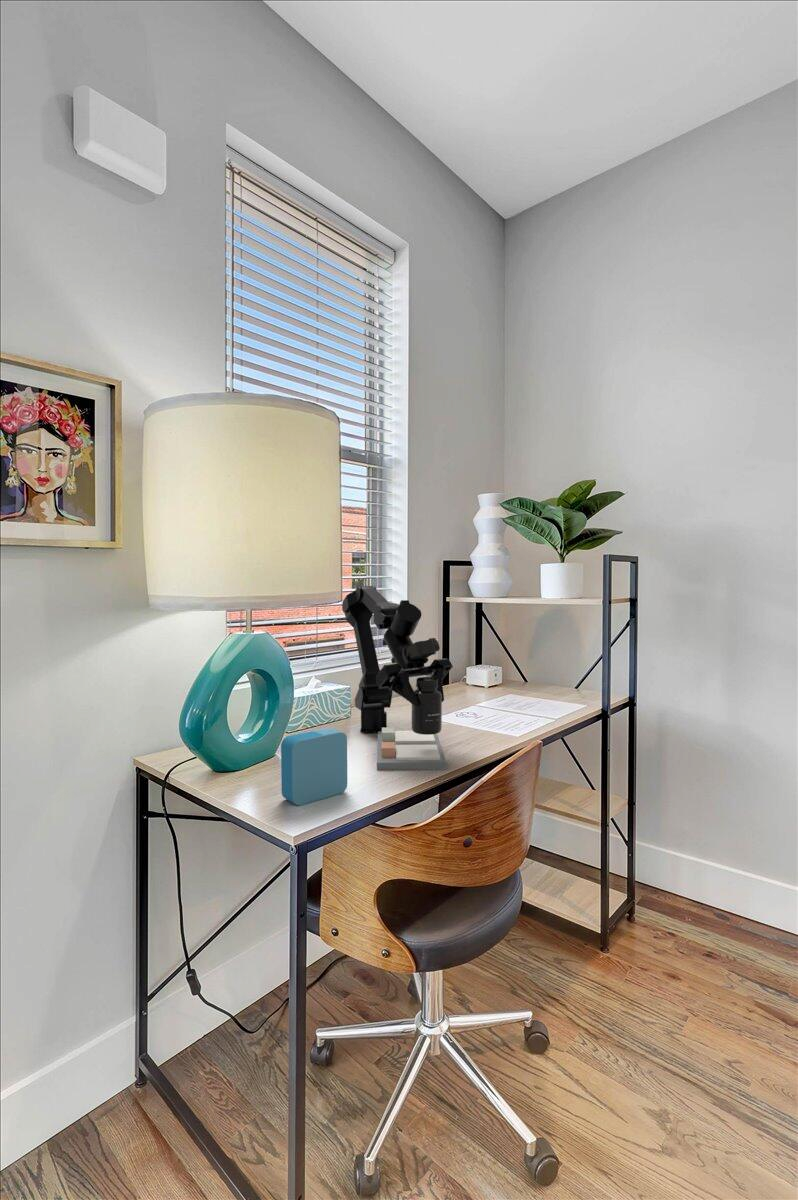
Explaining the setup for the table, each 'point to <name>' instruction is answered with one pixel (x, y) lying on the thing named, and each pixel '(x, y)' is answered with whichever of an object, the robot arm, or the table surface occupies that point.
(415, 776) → the table surface
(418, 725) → the supplement bottle
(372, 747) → the table surface
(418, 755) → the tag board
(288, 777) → the blue rounded square block
